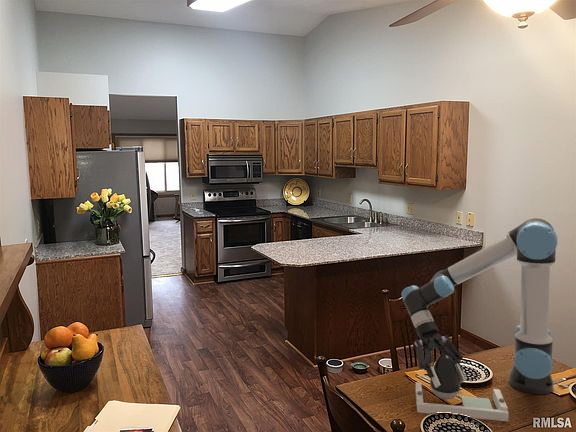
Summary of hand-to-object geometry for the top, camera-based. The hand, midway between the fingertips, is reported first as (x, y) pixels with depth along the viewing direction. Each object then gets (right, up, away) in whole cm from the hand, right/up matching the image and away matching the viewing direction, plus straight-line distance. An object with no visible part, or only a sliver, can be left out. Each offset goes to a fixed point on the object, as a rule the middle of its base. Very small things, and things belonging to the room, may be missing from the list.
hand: (450, 383), depth 160 cm
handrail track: (+4, -8, +2) cm, 9 cm away
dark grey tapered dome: (-1, -6, +4) cm, 7 cm away
